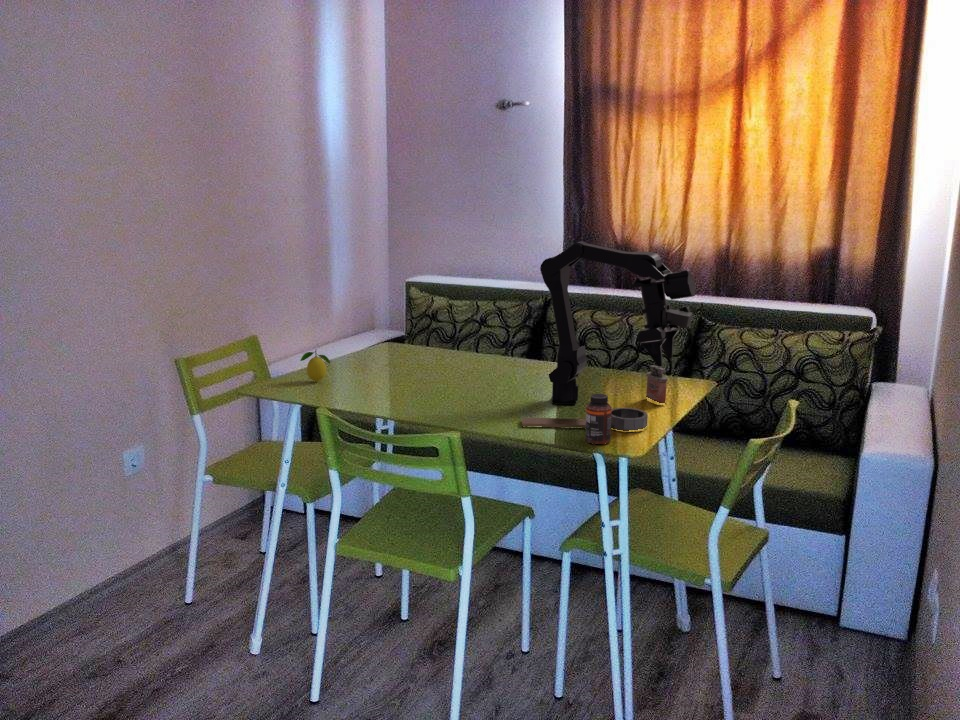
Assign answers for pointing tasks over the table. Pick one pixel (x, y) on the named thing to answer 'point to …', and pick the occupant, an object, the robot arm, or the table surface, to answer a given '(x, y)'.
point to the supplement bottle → (598, 420)
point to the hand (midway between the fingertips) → (665, 362)
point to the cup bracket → (619, 420)
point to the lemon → (316, 366)
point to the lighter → (656, 384)
